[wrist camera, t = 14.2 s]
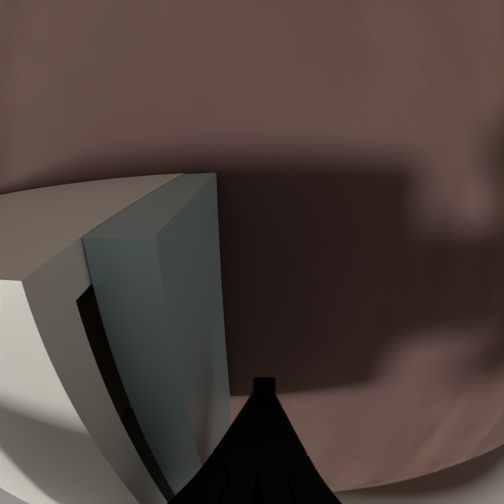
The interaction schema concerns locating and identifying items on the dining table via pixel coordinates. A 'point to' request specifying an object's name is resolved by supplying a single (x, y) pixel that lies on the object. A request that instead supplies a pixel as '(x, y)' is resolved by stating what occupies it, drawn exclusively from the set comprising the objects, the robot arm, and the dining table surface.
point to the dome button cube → (102, 349)
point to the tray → (167, 319)
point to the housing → (63, 355)
